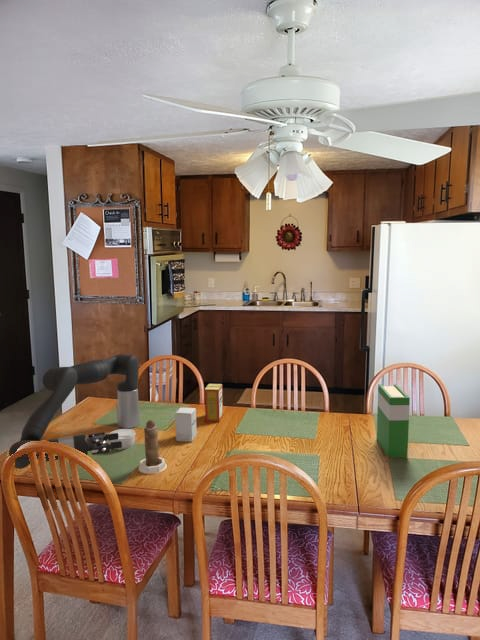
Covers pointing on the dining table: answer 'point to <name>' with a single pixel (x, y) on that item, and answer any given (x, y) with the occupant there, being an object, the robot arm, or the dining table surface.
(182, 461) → the dining table surface
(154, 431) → the pepper mill
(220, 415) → the baking soda box
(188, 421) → the supplement box
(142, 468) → the ring coaster
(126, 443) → the ramekin
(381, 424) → the hardback book
